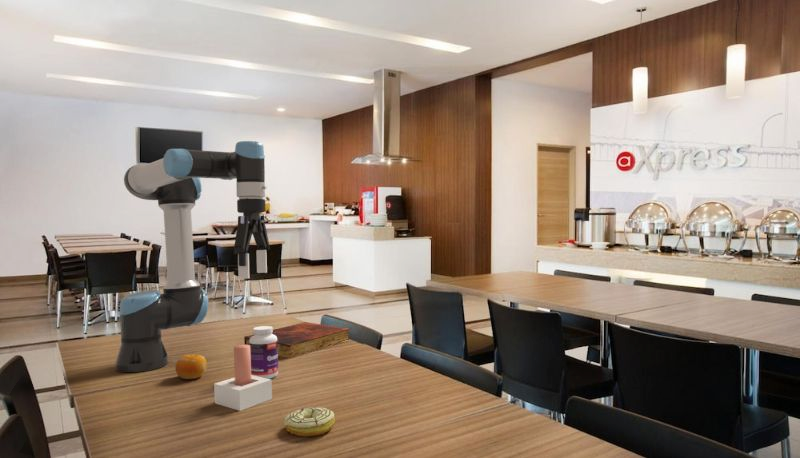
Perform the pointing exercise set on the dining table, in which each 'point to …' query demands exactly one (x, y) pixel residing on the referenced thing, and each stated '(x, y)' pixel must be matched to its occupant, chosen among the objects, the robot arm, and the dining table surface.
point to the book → (306, 338)
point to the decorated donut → (309, 421)
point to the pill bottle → (264, 352)
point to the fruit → (191, 366)
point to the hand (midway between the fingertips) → (253, 275)
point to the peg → (242, 365)
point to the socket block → (243, 393)
